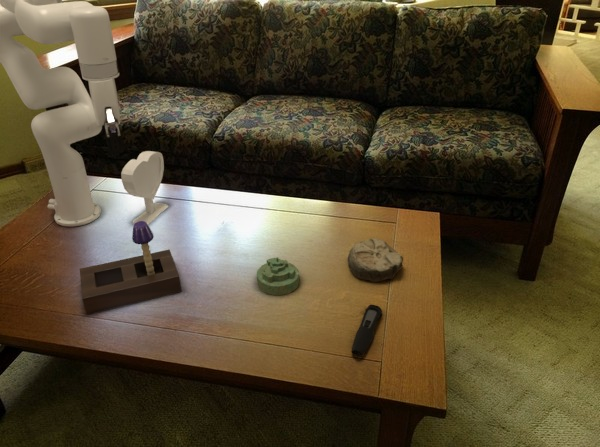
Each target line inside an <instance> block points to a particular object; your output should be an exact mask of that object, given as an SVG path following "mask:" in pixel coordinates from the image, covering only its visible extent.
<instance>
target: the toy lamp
mask: <svg viewBox="0 0 600 447" xmlns="http://www.w3.org/2000/svg"><path fill="white" fill-rule="evenodd" d="M131 238H132V242H133V243H134V244H136V245H141V247H140V249H141V251H142V255H143V256H144V261H145V266H146V270H147V275H148V276H149V275H153V274H155V272H154V267H153V262H152V257H151V253H152V252H151V249H150V244H149V243H150V242H152V241H153V240H154V238H155V237H154V233H153V231H152V229H151V227H150V226H149V224H147V223H146V222H145V221H139V222H136V223H135V224H134V223H133V226H132V236H131Z"/></svg>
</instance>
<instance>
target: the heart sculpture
mask: <svg viewBox="0 0 600 447" xmlns="http://www.w3.org/2000/svg"><path fill="white" fill-rule="evenodd" d="M164 161H165V160H164V155H163V154H162V153H161V152H159V151H153V150H152V151H151V150H145V151H142V152H141V153H139V155H138V156H137V158H136V159H135V158H132V159H130V160H129V161H128V162H127V163H126V164H125V165H124V167H123V168H122V170H121V173H120V177H121V183H122V186H123V189H124V190H125V191H126V192H127V194H129V195H130V196H132V197H136V198H142V199H143V200H144V207H145V211H143V212H142V213H141V214H140V215H139V216H137V218H135V219H134V220H133V221H132V224H133V225H134V224H135V223H136V222H139V221H145V222H146V223H147V224H148V225H150V223H151V222H153V221H154V220H156V218H157V217H158V216H159V215H160V214H162V213H163V212H164V211H165V210H167V208H168V207H169V205H168V204H166V203H163V202H157V203H156V202H155V203H154V200H155V197H156V195H157V193H158V190H159V188H160V186H161V183H162V181H163V177H164V171H165V163H164Z"/></svg>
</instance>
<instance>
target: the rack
mask: <svg viewBox="0 0 600 447" xmlns="http://www.w3.org/2000/svg"><path fill="white" fill-rule="evenodd" d="M151 257H152V262H153V267H154V272H155V274H153V275H149V276H148V275H147V270H146V266H145V261H144V256H143V254H141V255H136V256H133V257H128V258H122V259H118V260H113V261H108V262H103V263H100V264H96V265H90V266H86V267H85V266H84V267H80V268H79V277H80V278H79V279H80V288H81V289H80V290H81V299H82V302H83V307H84V309H85V314H86V315H90V314H95V313H99V312H103V311H107V310H111V309H112V310H113V309H116V308H120V307H123V306H128V305H131V304H137V303H140V302H145V301H148V300H152V299H156V298H160V297H165V296H169V295H173V294H177V293H181V292H182V285H181V284H182V283H181V277H180V274H179V271H178V269H177V266H176V263H175V260H174V257H173V255H172V252H171V249H164V250H160V251H155V252H151Z"/></svg>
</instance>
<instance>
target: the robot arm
mask: <svg viewBox="0 0 600 447" xmlns="http://www.w3.org/2000/svg"><path fill="white" fill-rule="evenodd" d="M19 36H26V37H27V38H29V39H31V40H32V41H34V42H36V43H38V44H41V45H56V44H61V43H66V42H73V41H74V45H75V50H76V54H77V59H78V64H79V67H80V68H79V69H80V73H81V77H82V79H81V77H80V76H79V75H78V74H77V72H76V71H75V70H73V69H72V68H70V67H67V66H57V67H56V66H55V67H51V68H45V67H44V66H43V65H42V64H41V62H40V60H39V58H38V57H37V55H36V53H35V52H34V51H33V50H32V49H30V48H29V47H28V46H26V45H25V44H23V43H21V42H19V41H18V40H16V39H14V38H13V37H19ZM115 47H116V46H115V42H114V37H113V31H112V25H111V20H110V15H109V12H108V10H107V9H106V8H105V7H102V6H99V5H93V4H92V3H91V2H88V1H85V0H76V1H65V2H63V0H0V64H1V65H2V67H3V69H4V71H5V72H6V74H7V76H8V78H9V80H10V82H11V84H12V85H13V87H14V89H15V91H16V92H17V95H18V96H19V98H20V99H21V101H22V103H23V104H24V106H26V108H27V109H30V110H32V111H33V110H35V111H36V110H37V111H39V110H44V109H48V108H53V107H56V106H60V105H64V104H65V105H66V106H62V107H58V108H57V107H56V108H53V109H49V110H45V111H43V112H41V113H38V114H37V115H36V116H34V117H33V119H32V120H31V124H30V128H31V131H32V135H33V136H34V139H35V140H36V143H37V144H38V147H39V150H40V152H41V155H42V157H43V160H44V163H45V167H46V171H47V174H48V178H49V181H50V185H51V189H52V193H53V195H54V198H50V199H48V204H47V206H46V207H47V209H48V210H54V211H55V214H54V216H53V218H54V221H55V223H56V224H57V225H60V226H62V227H80V226H83V225H87V224H90V223H92V222H94V221H95V220H97V219H98V218H99V217H100V216H101V212H102V210H101V207H100V205H98V204H96V203H94V200H93V196H92V191H91V188H90V184H89V179H88V175H87V169H86V166H85V162H84V158H83V156H82V155H81V154H80V153H79V152H78V150H76V149H74V148H73V147H72V146H71V145H72V144H74V143H76V142H80V141H83V140H86V139H90V138H92V137H95V136H97V135H99V134H100V133H101V132H102V129H103V135H104V138H105V139H106V145H107V149H108V153H109V155H115V154H121V153H124V152H125V147H124V143H123V136H122V134H121V131H120V127H119V125H120V124H121V123H122V122H121V114H120V104H119V97H118V92H117V86H116V80H115V79H117V78H118V77H120V70H119V65H118V60H117V54H116V48H115ZM82 80H85V81H87V82H88V89H89V92H88V90H87V88H86V86H85V85H84V82H83V81H82Z"/></svg>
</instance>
